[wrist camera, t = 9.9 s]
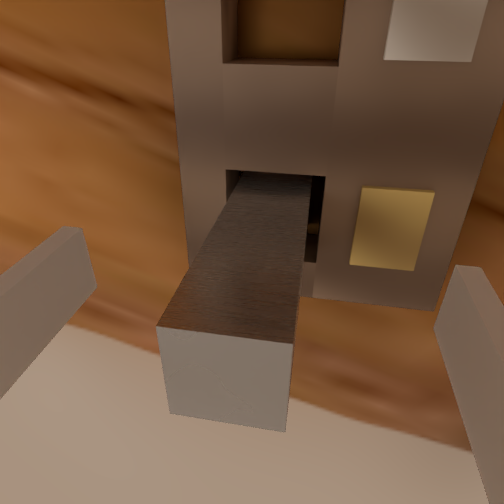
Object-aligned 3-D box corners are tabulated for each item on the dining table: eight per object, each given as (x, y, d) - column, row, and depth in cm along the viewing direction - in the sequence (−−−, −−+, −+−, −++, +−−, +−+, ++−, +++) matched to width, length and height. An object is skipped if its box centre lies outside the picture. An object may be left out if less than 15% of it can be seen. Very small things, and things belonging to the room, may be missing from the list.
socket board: (180, -142, 15) (144, -180, 12) (551, -162, 13) (612, -213, 10) (205, 255, 24) (188, 286, 21) (422, 278, 22) (435, 315, 19)
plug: (249, 162, 20) (155, 326, 9) (313, 166, 20) (292, 344, 9) (248, 219, 22) (169, 413, 11) (307, 224, 22) (285, 432, 11)
